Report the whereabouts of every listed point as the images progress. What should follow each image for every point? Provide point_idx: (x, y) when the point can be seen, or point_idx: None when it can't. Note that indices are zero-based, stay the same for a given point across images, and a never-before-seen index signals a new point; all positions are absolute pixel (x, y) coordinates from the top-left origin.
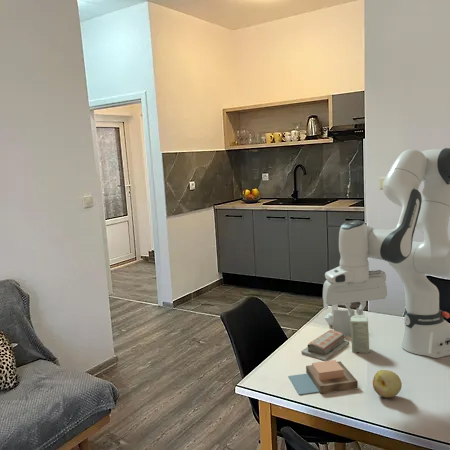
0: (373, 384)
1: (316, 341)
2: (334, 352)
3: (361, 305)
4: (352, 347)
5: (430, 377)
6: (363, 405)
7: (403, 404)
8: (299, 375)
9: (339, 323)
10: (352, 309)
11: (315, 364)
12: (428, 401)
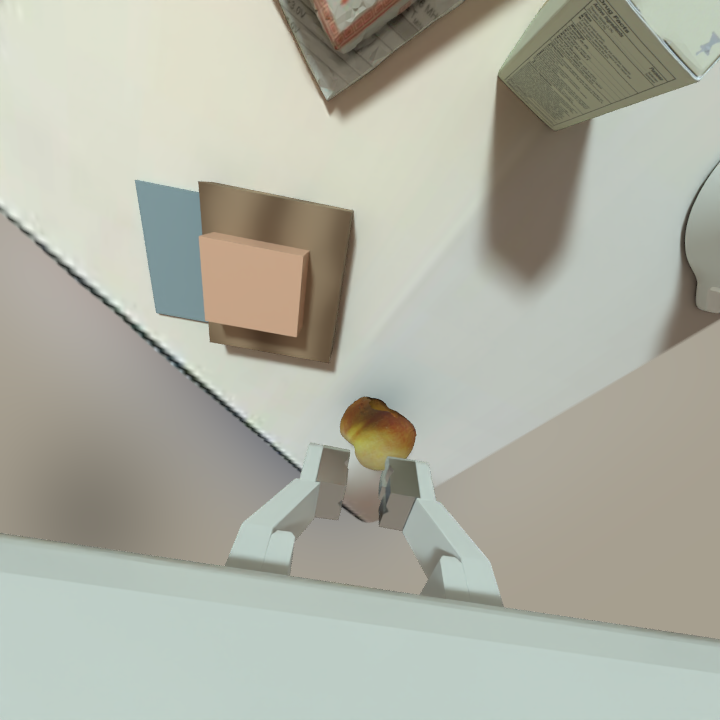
0: (341, 423)
1: None
2: (411, 37)
3: (430, 551)
4: (508, 67)
5: (549, 386)
6: (303, 413)
7: None
8: (179, 197)
9: None
10: (338, 496)
11: (210, 255)
12: (442, 453)
